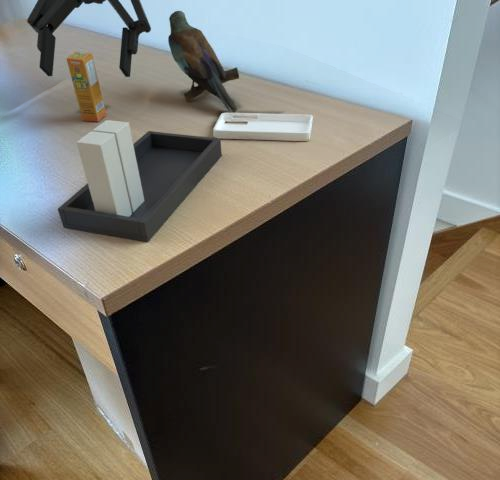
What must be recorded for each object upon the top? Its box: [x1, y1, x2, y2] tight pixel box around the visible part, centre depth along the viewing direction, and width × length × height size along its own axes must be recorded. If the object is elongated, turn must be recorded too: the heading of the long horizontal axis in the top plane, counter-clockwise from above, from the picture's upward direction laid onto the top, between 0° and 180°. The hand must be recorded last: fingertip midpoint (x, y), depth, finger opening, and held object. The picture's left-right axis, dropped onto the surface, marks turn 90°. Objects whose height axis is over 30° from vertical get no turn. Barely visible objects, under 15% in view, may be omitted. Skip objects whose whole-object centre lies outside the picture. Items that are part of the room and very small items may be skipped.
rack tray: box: [57, 130, 223, 243], centre depth 68 cm, size 12×24×3 cm, turn 161°
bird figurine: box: [167, 10, 240, 113], centre depth 89 cm, size 13×10×20 cm
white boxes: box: [76, 119, 144, 217], centre depth 60 cm, size 3×6×10 cm, turn 161°
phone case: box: [212, 112, 314, 142], centre depth 81 cm, size 7×1×15 cm
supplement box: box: [65, 51, 107, 123], centre depth 84 cm, size 3×3×10 cm
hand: (84, 72), depth 83 cm, fingers open, 13 cm apart
